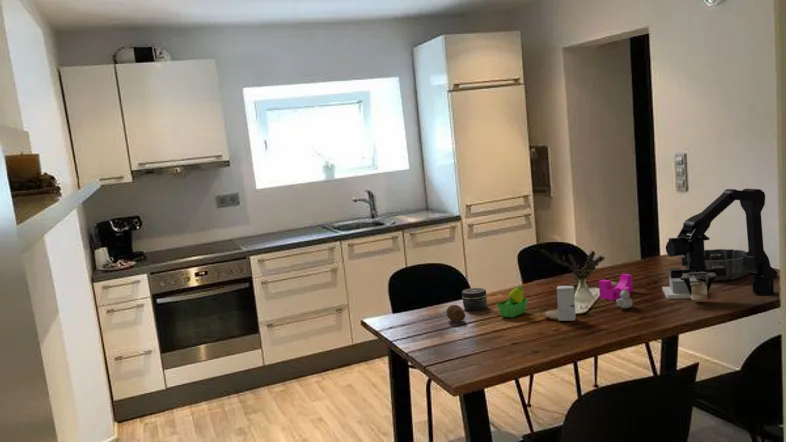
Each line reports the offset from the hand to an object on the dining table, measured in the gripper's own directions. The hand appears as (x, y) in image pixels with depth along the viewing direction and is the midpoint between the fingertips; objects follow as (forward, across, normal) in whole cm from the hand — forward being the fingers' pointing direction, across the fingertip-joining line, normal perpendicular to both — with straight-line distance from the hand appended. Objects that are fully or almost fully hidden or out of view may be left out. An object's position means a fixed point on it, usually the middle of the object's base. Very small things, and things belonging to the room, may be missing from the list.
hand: (698, 294), depth 231 cm
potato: (+3, +89, +15) cm, 90 cm away
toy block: (+3, +27, -16) cm, 31 cm away
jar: (+3, +84, -3) cm, 84 cm away
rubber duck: (+3, +26, +4) cm, 27 cm away
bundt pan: (+3, -14, -41) cm, 43 cm away
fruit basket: (+3, +67, +8) cm, 67 cm away
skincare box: (+3, +47, +17) cm, 50 cm away
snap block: (+1, 0, 0) cm, 1 cm away
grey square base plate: (+3, +3, -14) cm, 15 cm away
